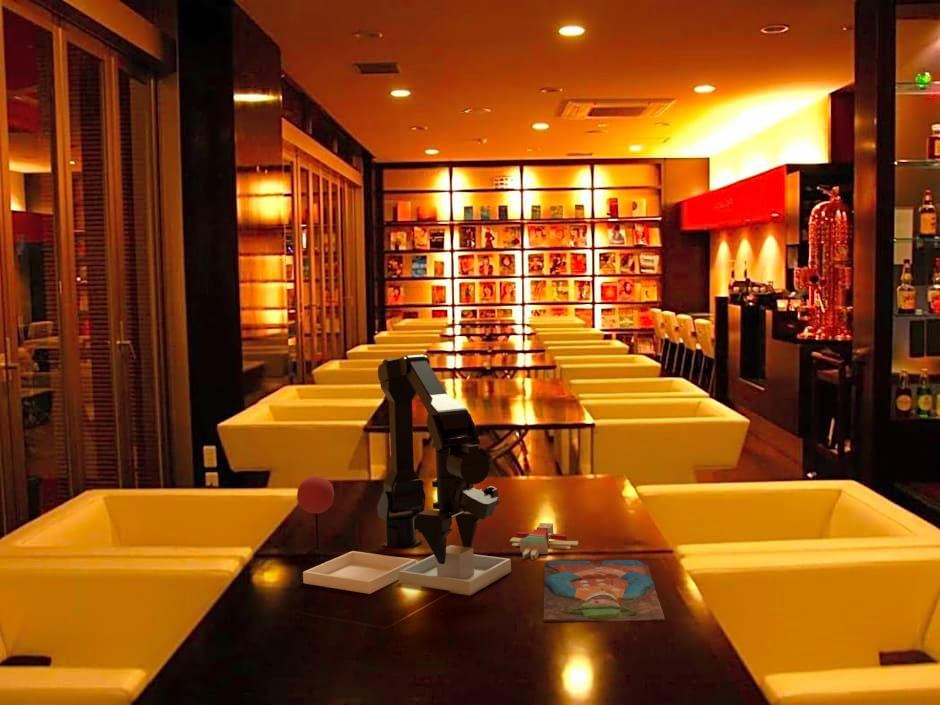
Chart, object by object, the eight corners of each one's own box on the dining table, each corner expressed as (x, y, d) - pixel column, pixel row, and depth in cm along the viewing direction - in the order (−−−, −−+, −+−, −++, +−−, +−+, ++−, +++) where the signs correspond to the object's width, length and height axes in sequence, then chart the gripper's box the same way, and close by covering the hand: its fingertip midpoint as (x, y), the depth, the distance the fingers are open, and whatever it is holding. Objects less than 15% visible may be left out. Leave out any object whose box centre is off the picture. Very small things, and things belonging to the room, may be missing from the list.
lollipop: (329, 552, 211) (325, 480, 210) (294, 551, 213) (290, 480, 212) (341, 542, 219) (338, 473, 218) (307, 541, 220) (304, 473, 219)
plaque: (648, 559, 193) (665, 613, 163) (648, 570, 193) (665, 626, 164) (544, 560, 195) (542, 613, 165) (544, 571, 195) (543, 626, 165)
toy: (491, 547, 203) (513, 519, 217) (493, 565, 204) (514, 536, 217) (563, 551, 198) (580, 522, 212) (564, 570, 199) (581, 539, 212)
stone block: (451, 570, 194) (450, 545, 193) (474, 574, 191) (473, 547, 191) (437, 578, 189) (436, 551, 189) (460, 581, 187) (459, 554, 186)
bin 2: (442, 562, 201) (442, 550, 200) (510, 571, 193) (510, 559, 193) (399, 584, 188) (398, 571, 187) (470, 595, 180) (469, 581, 180)
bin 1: (353, 563, 203) (352, 551, 202) (416, 572, 195) (416, 559, 195) (303, 585, 190) (302, 571, 189) (369, 595, 182) (369, 582, 182)
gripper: (463, 488, 177) (466, 576, 178) (513, 468, 193) (516, 549, 194) (409, 483, 182) (413, 569, 184) (463, 464, 198) (466, 543, 200)
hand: (454, 557), depth 190 cm, fingers open, 9 cm apart
